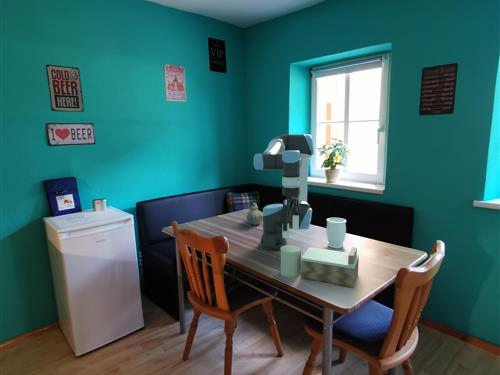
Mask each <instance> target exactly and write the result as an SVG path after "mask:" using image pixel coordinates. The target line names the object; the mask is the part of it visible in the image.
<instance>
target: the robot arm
mask: <svg viewBox="0 0 500 375" xmlns="http://www.w3.org/2000/svg"><path fill="white" fill-rule="evenodd" d="M314 152H315V151H314V142H313V137H312V135H311V134H308V133H300V134H299V133H298V134H295V133H294V134H291V133H290V134H287V133H286V134H282V135H278V136H276V137H274V138H273V139H271V140H270V142H269V143H268V146H267V147H266V149H265V150H264V152H263V153H255V154H254V156H253V168H254V169H255V170H257V171H260V170H261V171H282V176H281V178H282V179H281V180H282V181H281V183H282V187H281V188H282V189H281V190H282V191H281V193H282V196H284V197H286V198H285V199H283V200H282V203H273V204H267V205H266V206H264V207H263V208H262V216H263V220H262V234H261V237H260V241H259V246H260V248H262V249H264V250H268V251H278V250H280V251H281V247H282V246H285V245H288V241H287V239H290V230H301V231H302V230H308V229H309V228H310V226H311V221H312V214H313V209H312V208H311V207H310V206H311V205H310V203H308V179H309V178H308V176H309V170H308V169H309V161H310V159H312V156H313V155H315V154H314Z"/></svg>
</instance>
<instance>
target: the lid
mask: <svg viewBox="0 0 500 375" xmlns="http://www.w3.org/2000/svg"><path fill="white" fill-rule="evenodd" d="M357 249H358V248H357V247H353V246H352V247H351V248H350V251H348V252H347V251H341V250H340V251H339V250H332V249H326V248H319V247H310V246H309V247H308V248H307V250H306V251H305V252H304V253H303V254H302V256H301V261H307V262H313V263H320V264H326V265H332V266H338V267H344V268H350V269H354V268H355V266H356V263H357V260H358V257H359V258H360V254H359V253H357V252H358V250H357Z"/></svg>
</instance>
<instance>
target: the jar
mask: <svg viewBox="0 0 500 375" xmlns="http://www.w3.org/2000/svg"><path fill="white" fill-rule="evenodd" d="M346 223H347V219H345V218H341V217H329V218H326V237H327V241H328V243H327V246H328V247H329V248H332V249H342V248H344V242H345V239H346V233H347V226H346Z"/></svg>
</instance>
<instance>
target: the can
mask: <svg viewBox="0 0 500 375" xmlns="http://www.w3.org/2000/svg"><path fill="white" fill-rule="evenodd" d="M301 253H302V248H301V247H300V246H298V245H295V244H287V245H285V246H282V247H281V249H280V274H281V275H282V276H284V277H289V278H294V277H295V278H296V277H299V276H301V257H302V256H301Z"/></svg>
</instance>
